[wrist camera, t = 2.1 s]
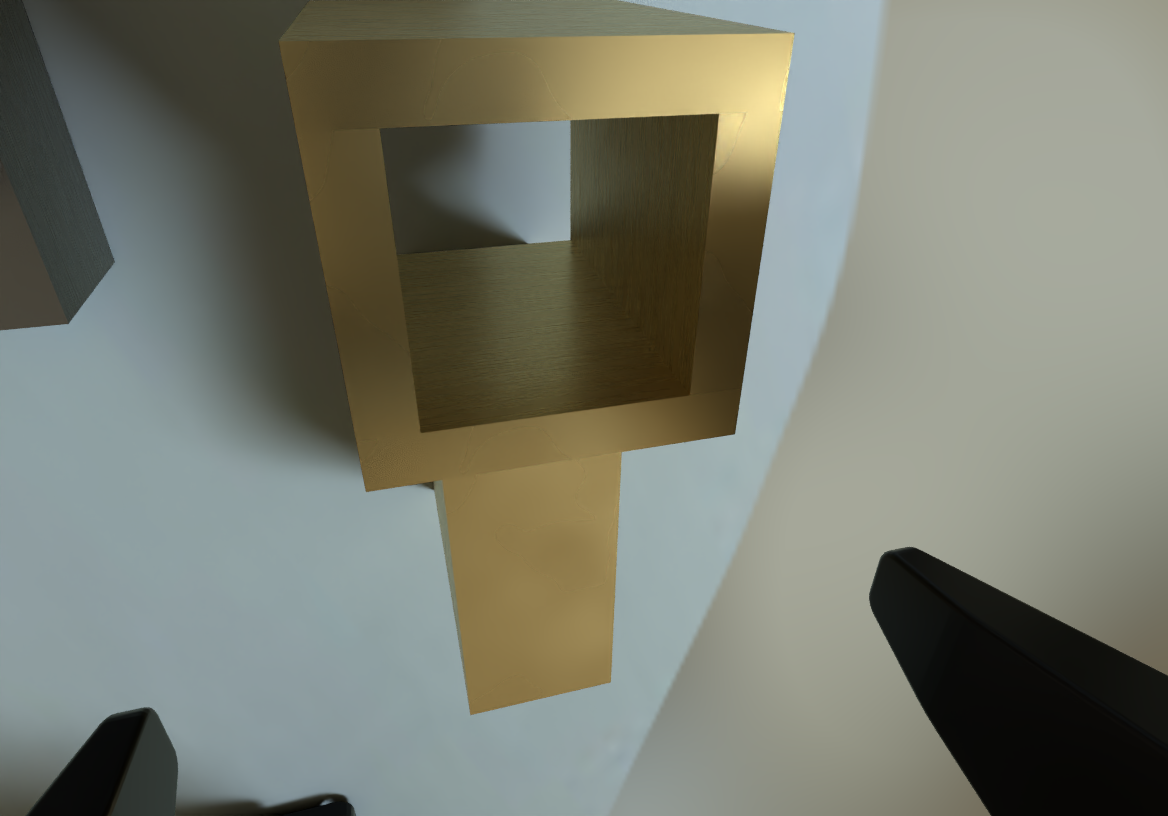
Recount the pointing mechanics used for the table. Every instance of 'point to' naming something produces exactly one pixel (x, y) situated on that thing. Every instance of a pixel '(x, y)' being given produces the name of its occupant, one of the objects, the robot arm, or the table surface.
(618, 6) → the square hoop paddle
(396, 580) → the table surface
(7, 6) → the block with metal peg
